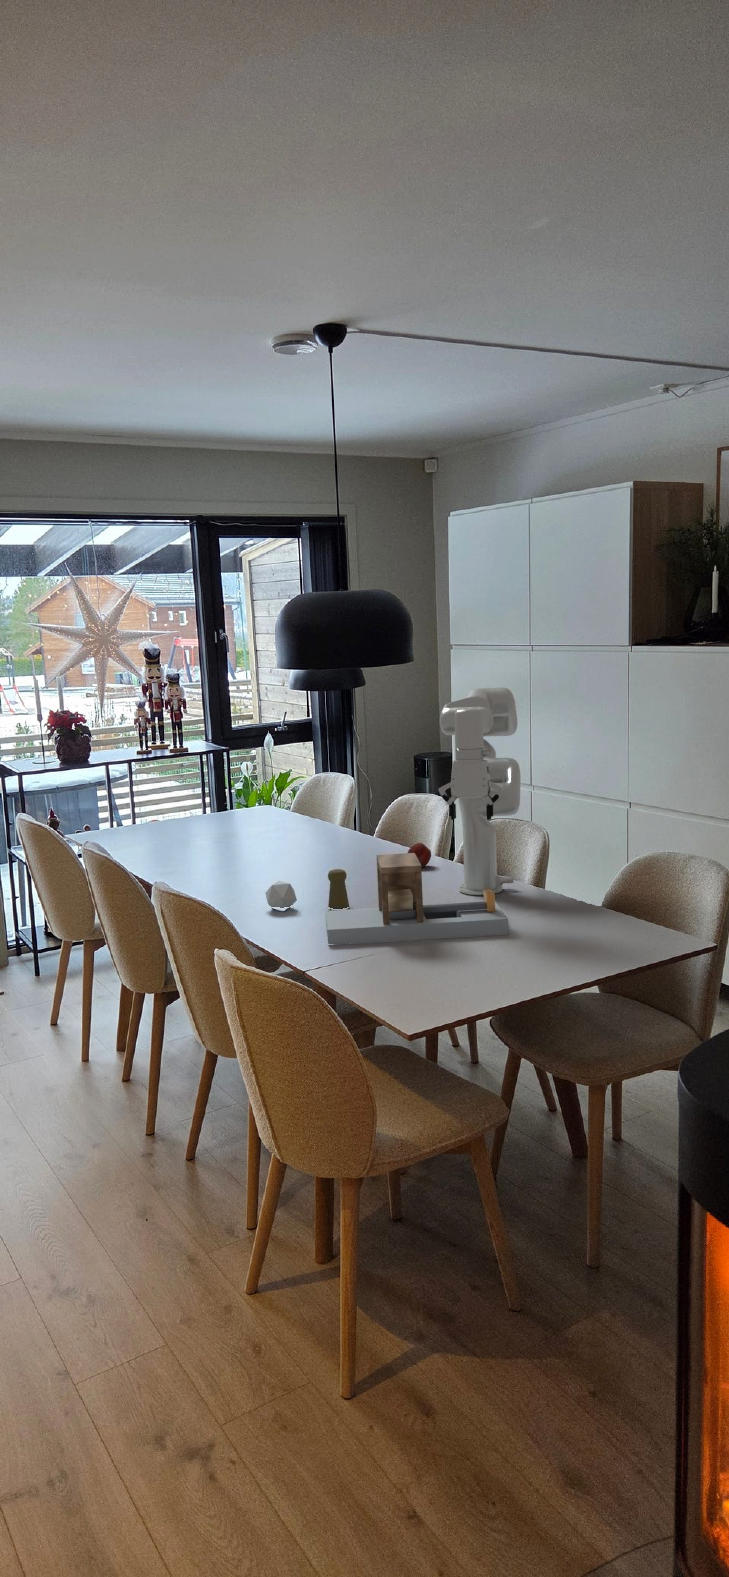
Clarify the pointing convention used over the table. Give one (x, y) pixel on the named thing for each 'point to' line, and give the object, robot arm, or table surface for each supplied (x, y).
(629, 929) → the table surface
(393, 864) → the tunnel
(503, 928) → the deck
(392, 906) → the block
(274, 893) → the die
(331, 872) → the tan pawn
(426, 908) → the sled
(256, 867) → the table surface
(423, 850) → the apple
